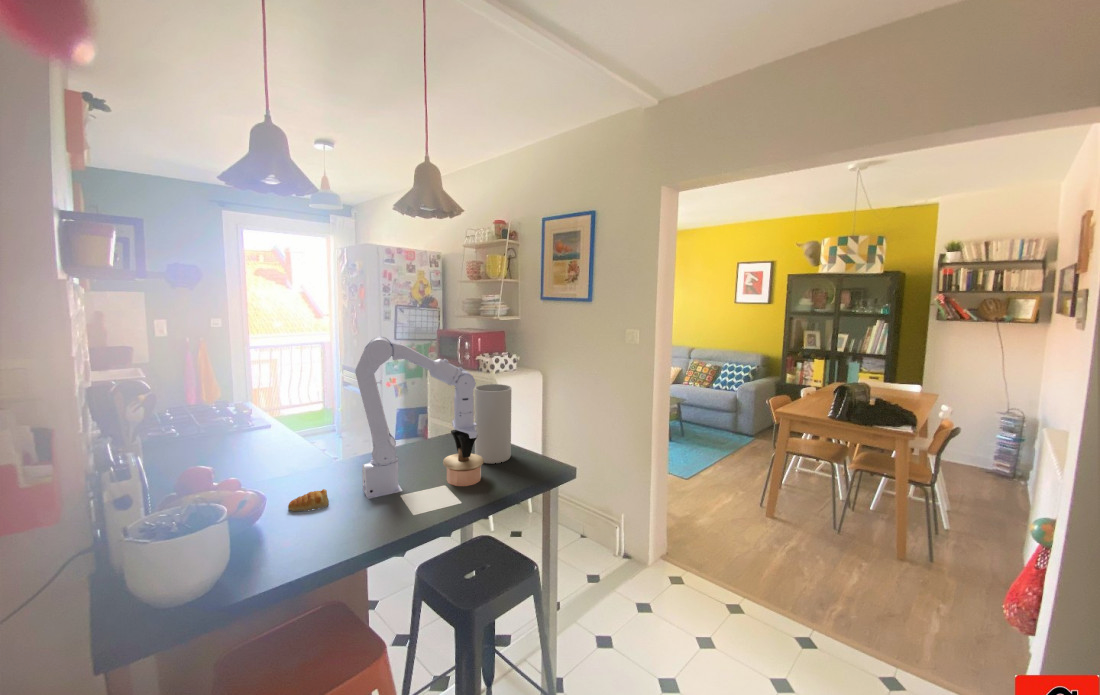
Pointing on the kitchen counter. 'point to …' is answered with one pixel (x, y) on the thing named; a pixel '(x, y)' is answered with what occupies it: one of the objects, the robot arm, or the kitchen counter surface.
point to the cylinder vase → (493, 422)
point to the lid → (462, 461)
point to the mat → (430, 500)
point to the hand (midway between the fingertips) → (464, 454)
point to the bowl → (463, 476)
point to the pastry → (309, 501)
